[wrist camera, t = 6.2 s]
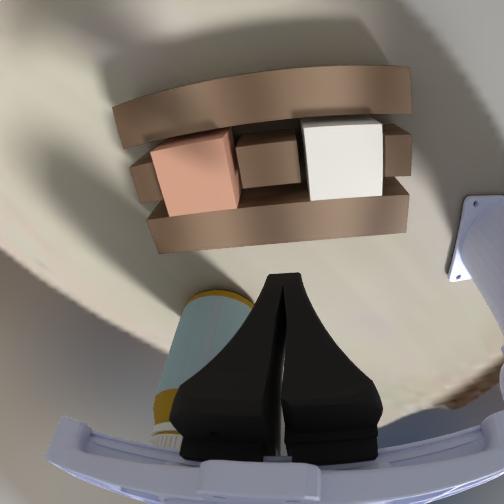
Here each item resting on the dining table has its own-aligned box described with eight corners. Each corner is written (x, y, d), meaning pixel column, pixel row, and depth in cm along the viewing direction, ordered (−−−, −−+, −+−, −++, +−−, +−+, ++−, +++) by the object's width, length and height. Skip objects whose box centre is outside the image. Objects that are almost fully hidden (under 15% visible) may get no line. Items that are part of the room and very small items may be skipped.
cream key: (366, 113, 16) (382, 124, 13) (368, 175, 18) (382, 195, 16) (299, 117, 16) (303, 128, 14) (306, 180, 19) (310, 201, 16)
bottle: (179, 282, 25) (120, 452, 13) (263, 287, 25) (245, 475, 13) (190, 336, 29) (154, 479, 17) (261, 341, 29) (248, 494, 17)
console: (390, 65, 14) (409, 67, 12) (392, 210, 20) (405, 232, 18) (134, 99, 17) (112, 107, 15) (171, 230, 23) (158, 253, 20)
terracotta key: (231, 126, 17) (222, 138, 15) (242, 186, 19) (236, 208, 17) (168, 137, 18) (150, 152, 15) (183, 195, 20) (169, 216, 17)
